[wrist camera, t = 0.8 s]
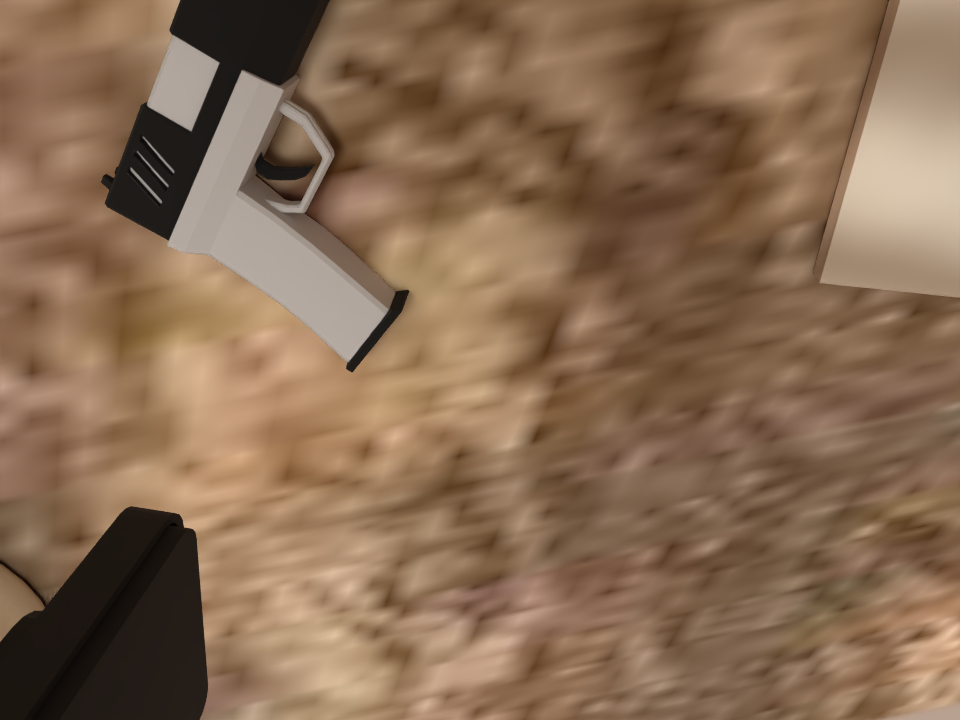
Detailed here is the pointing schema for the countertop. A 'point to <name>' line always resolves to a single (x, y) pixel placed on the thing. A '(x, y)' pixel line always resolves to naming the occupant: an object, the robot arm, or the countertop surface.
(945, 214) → the hinge board
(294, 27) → the toy gun
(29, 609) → the lamp
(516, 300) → the countertop surface
